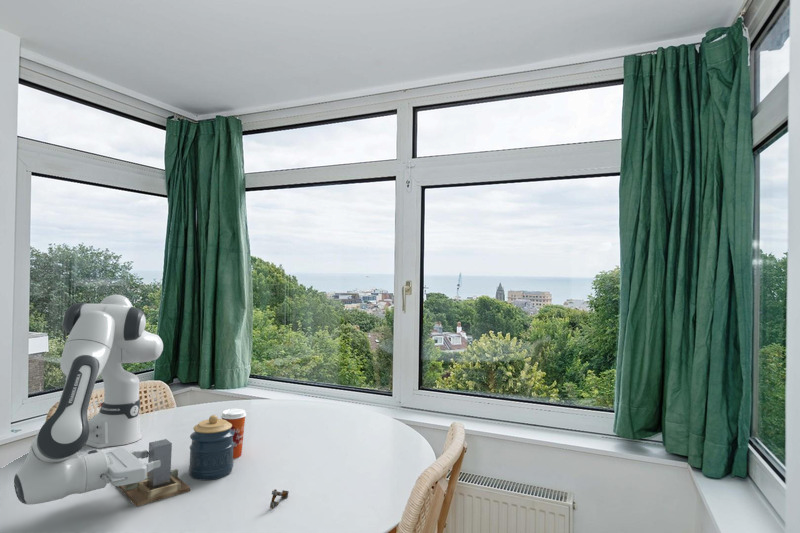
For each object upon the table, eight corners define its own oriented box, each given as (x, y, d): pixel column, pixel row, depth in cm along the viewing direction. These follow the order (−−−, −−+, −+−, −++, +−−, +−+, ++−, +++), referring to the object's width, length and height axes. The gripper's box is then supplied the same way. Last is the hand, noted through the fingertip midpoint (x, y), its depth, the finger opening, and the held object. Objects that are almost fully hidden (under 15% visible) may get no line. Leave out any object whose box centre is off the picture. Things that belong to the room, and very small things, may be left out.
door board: (136, 506, 125) (136, 495, 125) (114, 482, 139) (114, 471, 139) (190, 490, 135) (190, 480, 135) (164, 469, 149) (165, 459, 149)
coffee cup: (236, 461, 157) (238, 415, 157) (214, 458, 158) (216, 413, 159) (249, 452, 165) (251, 409, 165) (228, 450, 167) (229, 407, 167)
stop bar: (152, 494, 129) (154, 446, 130) (147, 489, 133) (149, 442, 133) (169, 490, 133) (171, 443, 133) (164, 484, 136) (165, 439, 136)
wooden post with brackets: (266, 507, 125) (270, 488, 127) (279, 507, 132) (283, 489, 134) (272, 508, 124) (276, 489, 126) (285, 508, 131) (288, 490, 133)
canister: (206, 484, 139) (208, 424, 139) (179, 474, 146) (181, 416, 146) (242, 470, 150) (244, 414, 150) (215, 461, 157) (217, 407, 157)
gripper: (108, 470, 114) (168, 456, 124) (86, 448, 129) (142, 437, 138) (106, 497, 114) (167, 481, 124) (85, 472, 128) (141, 459, 138)
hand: (153, 457), depth 131 cm, fingers open, 8 cm apart
